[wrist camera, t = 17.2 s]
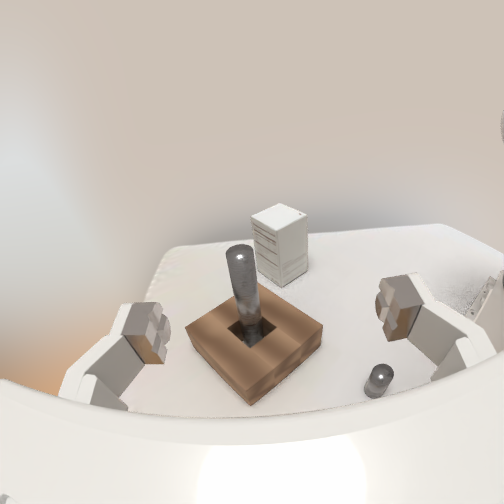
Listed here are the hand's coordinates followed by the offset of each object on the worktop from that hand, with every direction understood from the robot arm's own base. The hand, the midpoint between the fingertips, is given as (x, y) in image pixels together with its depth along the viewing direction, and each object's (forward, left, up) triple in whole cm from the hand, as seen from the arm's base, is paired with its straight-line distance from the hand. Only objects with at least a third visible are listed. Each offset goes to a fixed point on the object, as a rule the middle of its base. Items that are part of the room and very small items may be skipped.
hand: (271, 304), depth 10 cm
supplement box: (-25, -26, -28) cm, 46 cm away
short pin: (-15, +2, -28) cm, 32 cm away
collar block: (-9, -16, -28) cm, 33 cm away
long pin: (-9, -16, -28) cm, 33 cm away
